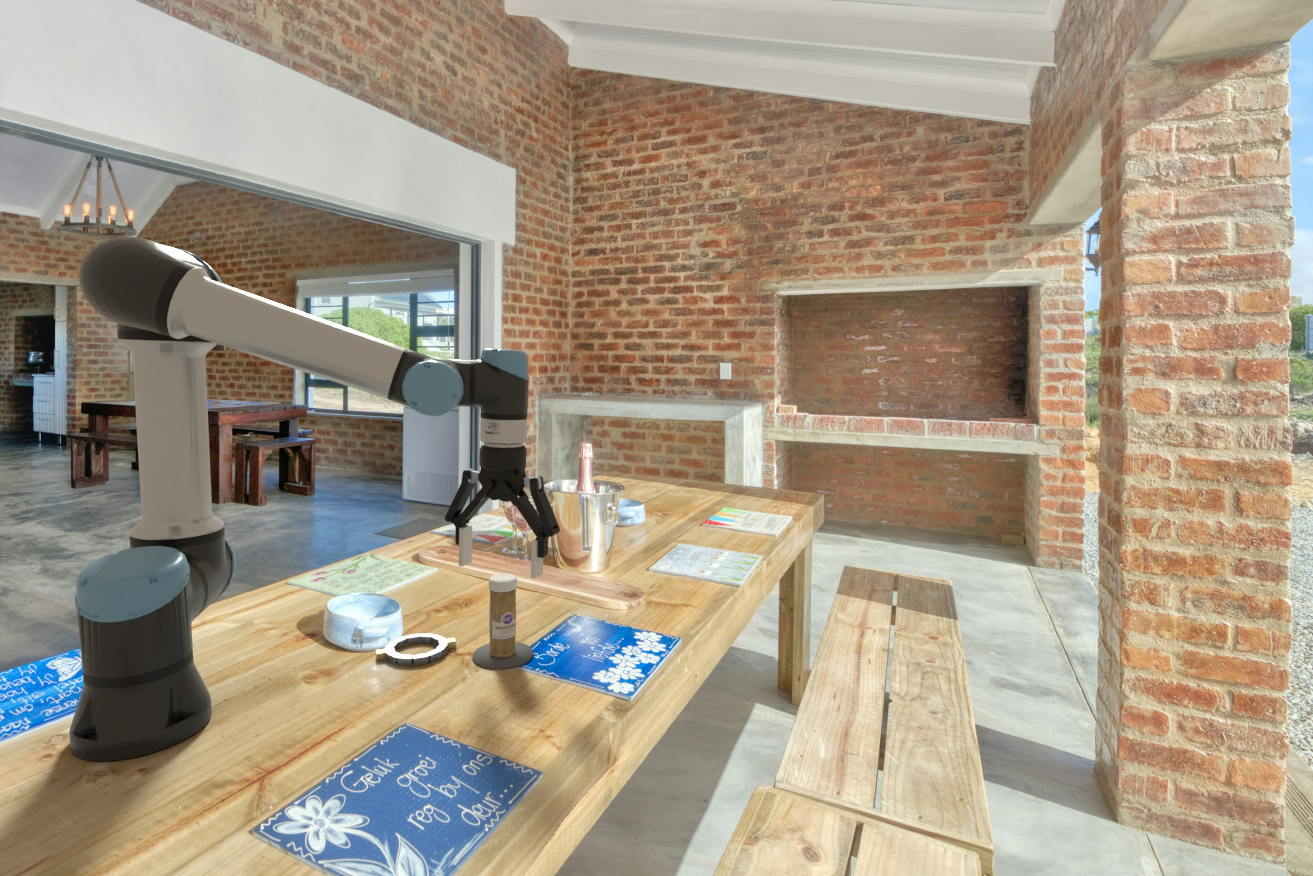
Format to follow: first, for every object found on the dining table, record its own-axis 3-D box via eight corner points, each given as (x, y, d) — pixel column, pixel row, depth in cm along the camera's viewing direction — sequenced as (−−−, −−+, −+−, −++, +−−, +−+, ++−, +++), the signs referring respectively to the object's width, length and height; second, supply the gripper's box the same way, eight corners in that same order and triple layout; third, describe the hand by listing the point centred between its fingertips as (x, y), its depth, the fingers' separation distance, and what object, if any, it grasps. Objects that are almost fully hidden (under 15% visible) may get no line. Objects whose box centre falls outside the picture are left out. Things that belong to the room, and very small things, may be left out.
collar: (379, 671, 109) (379, 664, 109) (374, 646, 118) (373, 640, 118) (460, 657, 115) (460, 650, 115) (450, 634, 124) (450, 628, 123)
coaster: (479, 673, 109) (479, 671, 109) (467, 648, 118) (467, 646, 118) (540, 662, 114) (540, 660, 114) (523, 639, 123) (523, 637, 122)
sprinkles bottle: (500, 661, 113) (500, 583, 111) (483, 653, 116) (483, 576, 114) (522, 653, 116) (522, 576, 114) (505, 645, 119) (505, 570, 117)
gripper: (424, 439, 112) (423, 565, 114) (562, 453, 104) (557, 588, 106) (451, 435, 119) (449, 553, 121) (582, 448, 111) (578, 574, 114)
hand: (500, 570), depth 114 cm, fingers open, 13 cm apart
